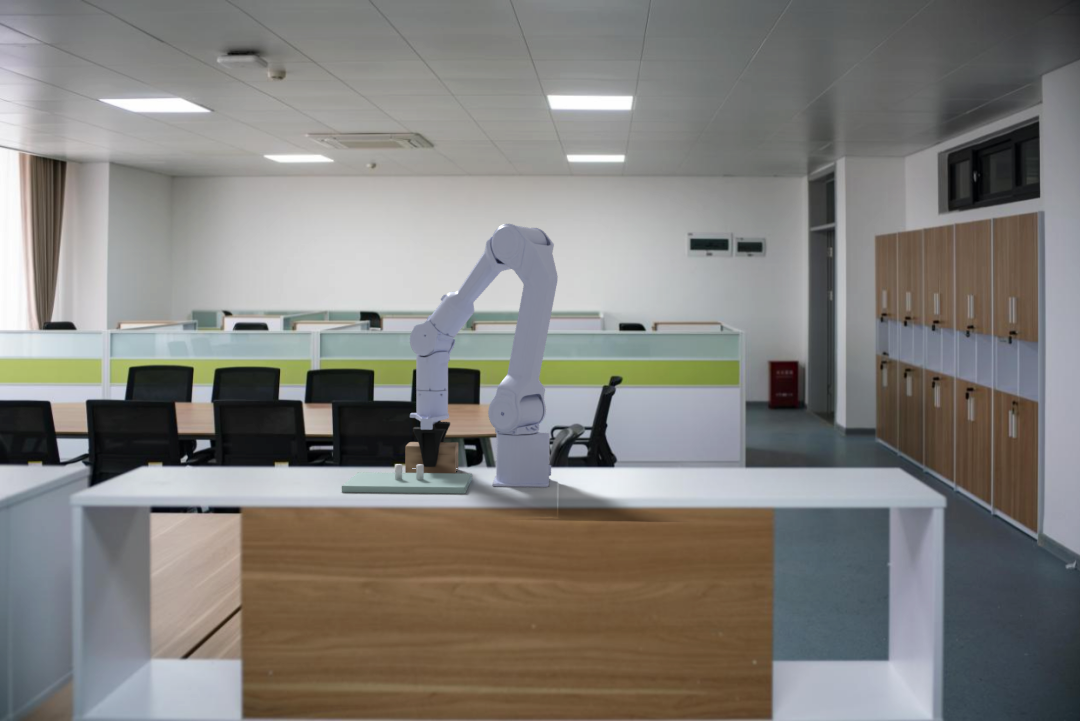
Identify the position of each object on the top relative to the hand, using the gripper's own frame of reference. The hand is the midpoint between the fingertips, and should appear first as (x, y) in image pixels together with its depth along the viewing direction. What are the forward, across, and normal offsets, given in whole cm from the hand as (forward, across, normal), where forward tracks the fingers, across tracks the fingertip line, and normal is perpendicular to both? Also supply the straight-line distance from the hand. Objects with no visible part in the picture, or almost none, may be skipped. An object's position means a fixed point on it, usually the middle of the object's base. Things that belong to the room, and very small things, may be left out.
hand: (432, 463), depth 163 cm
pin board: (+1, +13, -2) cm, 13 cm away
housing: (+1, 0, 0) cm, 1 cm away
